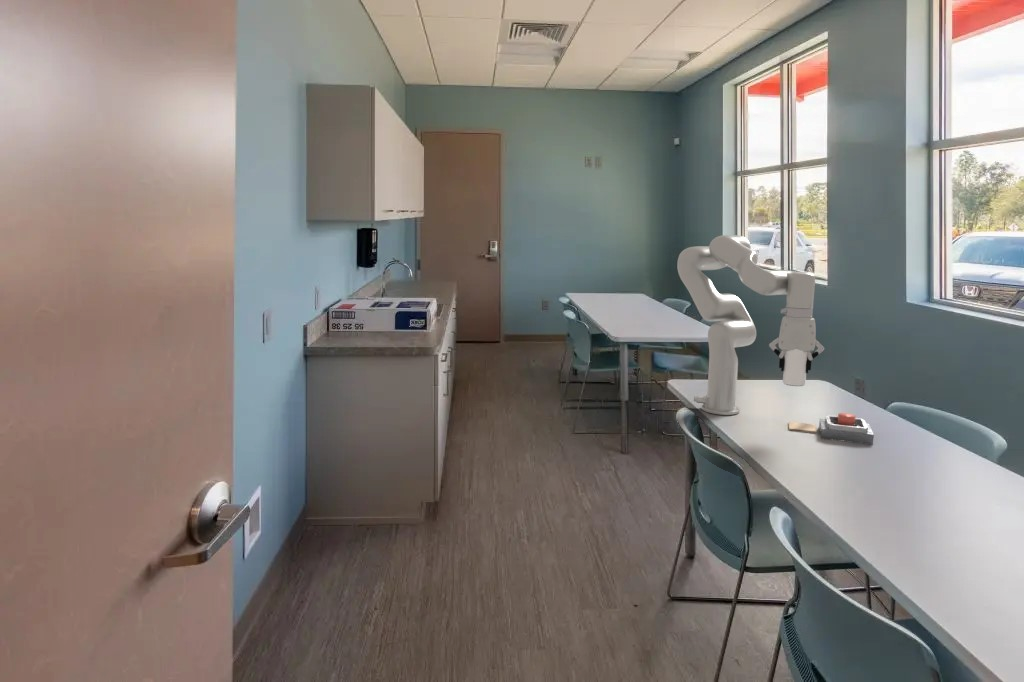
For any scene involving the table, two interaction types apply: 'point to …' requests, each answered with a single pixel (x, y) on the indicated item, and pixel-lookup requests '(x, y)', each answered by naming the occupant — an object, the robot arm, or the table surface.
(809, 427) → the coaster
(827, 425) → the white shallow box
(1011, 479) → the table surface
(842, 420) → the button
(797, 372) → the can
